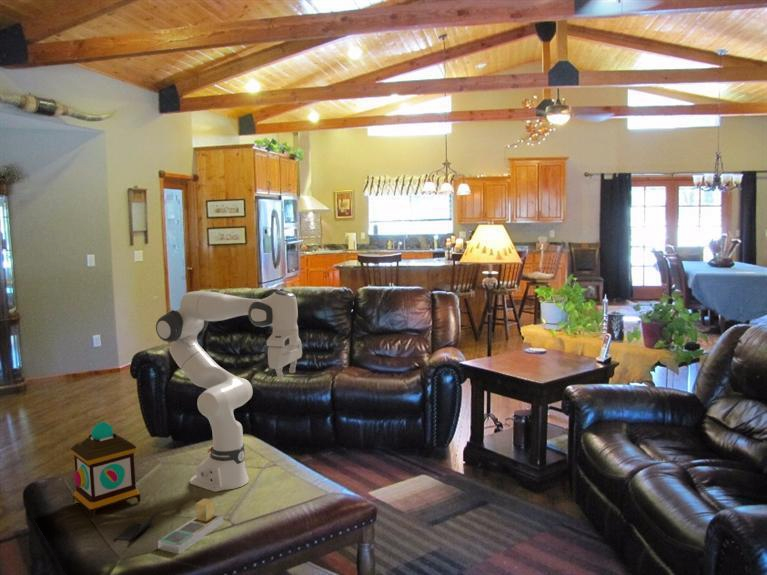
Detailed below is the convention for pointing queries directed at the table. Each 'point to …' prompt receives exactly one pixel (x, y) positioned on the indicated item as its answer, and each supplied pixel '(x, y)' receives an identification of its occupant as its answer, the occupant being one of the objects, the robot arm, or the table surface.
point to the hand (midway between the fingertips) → (286, 375)
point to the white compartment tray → (188, 534)
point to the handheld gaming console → (134, 530)
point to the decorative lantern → (104, 469)
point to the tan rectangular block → (205, 511)
